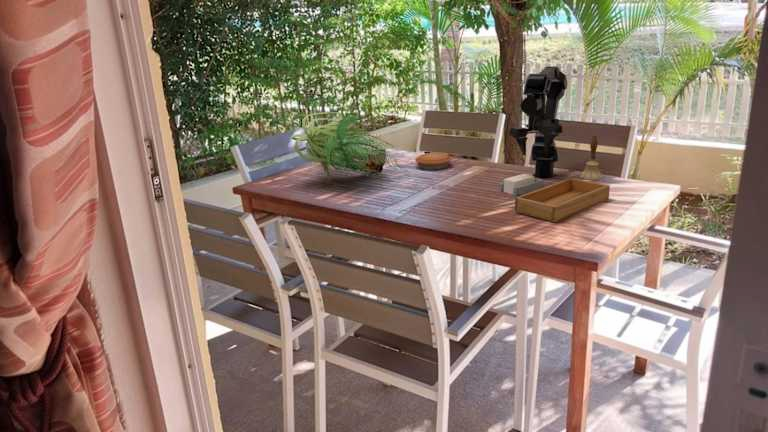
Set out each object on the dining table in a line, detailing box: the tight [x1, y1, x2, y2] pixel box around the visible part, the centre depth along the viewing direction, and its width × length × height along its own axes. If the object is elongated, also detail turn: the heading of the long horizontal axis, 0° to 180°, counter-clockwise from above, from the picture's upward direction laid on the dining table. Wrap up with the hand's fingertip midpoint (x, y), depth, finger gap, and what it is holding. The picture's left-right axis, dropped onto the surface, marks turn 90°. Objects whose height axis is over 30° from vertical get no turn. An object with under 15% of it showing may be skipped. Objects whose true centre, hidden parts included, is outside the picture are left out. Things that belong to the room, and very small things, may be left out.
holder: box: [498, 178, 544, 197], centre depth 217 cm, size 13×9×3 cm, turn 121°
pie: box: [414, 152, 453, 171], centre depth 254 cm, size 15×16×5 cm
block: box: [503, 173, 535, 195], centre depth 216 cm, size 10×5×5 cm, turn 123°
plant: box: [291, 109, 415, 187], centre depth 237 cm, size 35×35×40 cm
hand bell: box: [579, 134, 604, 181], centre depth 225 cm, size 8×8×16 cm
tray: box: [514, 177, 611, 223], centre depth 197 cm, size 31×15×6 cm, turn 130°
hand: (535, 154), depth 217 cm, fingers open, 9 cm apart
